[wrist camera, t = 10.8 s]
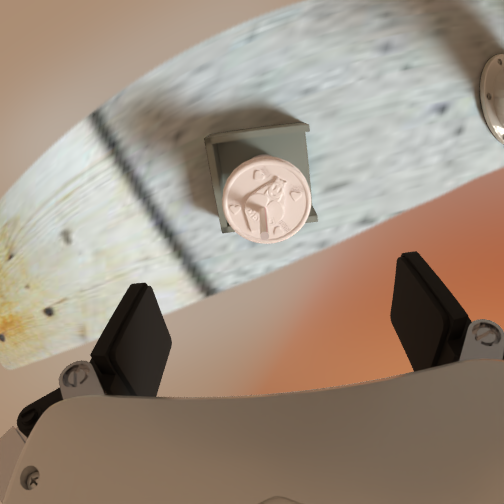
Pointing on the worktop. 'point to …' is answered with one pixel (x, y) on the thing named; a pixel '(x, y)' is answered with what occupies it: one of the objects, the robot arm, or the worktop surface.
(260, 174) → the smoothie
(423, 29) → the worktop surface
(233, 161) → the bay
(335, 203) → the worktop surface
